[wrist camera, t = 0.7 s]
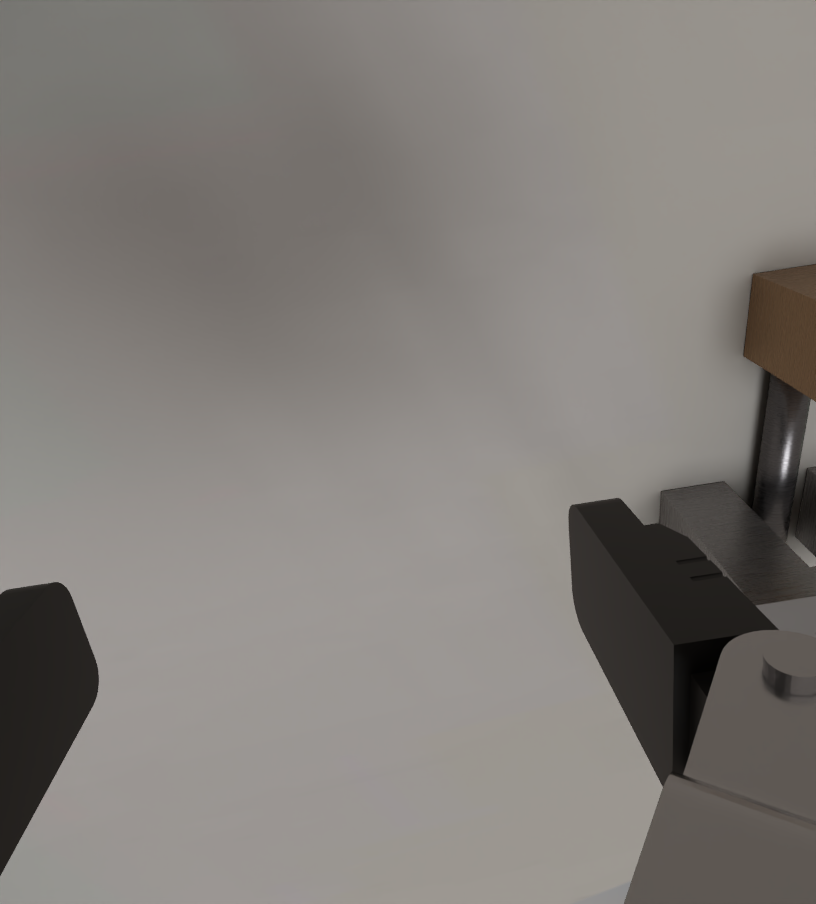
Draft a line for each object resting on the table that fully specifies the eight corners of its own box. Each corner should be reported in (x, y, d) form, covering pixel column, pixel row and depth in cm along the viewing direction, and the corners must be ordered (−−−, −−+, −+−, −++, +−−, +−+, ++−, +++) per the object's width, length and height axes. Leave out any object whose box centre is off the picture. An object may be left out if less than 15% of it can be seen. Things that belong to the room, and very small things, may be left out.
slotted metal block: (661, 491, 31) (753, 605, 24) (870, 458, 31) (1024, 563, 24) (657, 558, 33) (742, 683, 26) (854, 527, 33) (992, 643, 26)
